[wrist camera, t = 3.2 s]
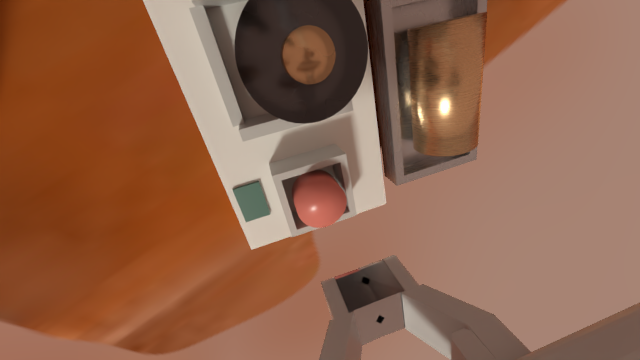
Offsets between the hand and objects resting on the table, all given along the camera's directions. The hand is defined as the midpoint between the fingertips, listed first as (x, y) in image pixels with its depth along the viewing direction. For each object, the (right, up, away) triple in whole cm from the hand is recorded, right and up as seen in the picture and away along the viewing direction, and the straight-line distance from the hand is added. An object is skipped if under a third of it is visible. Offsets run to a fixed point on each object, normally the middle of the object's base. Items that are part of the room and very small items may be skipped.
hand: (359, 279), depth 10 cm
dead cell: (-4, +10, +4) cm, 11 cm away
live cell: (+5, +10, +7) cm, 13 cm away
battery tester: (-3, +8, +6) cm, 11 cm away
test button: (-2, +3, +6) cm, 7 cm away
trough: (+5, +10, +8) cm, 14 cm away
